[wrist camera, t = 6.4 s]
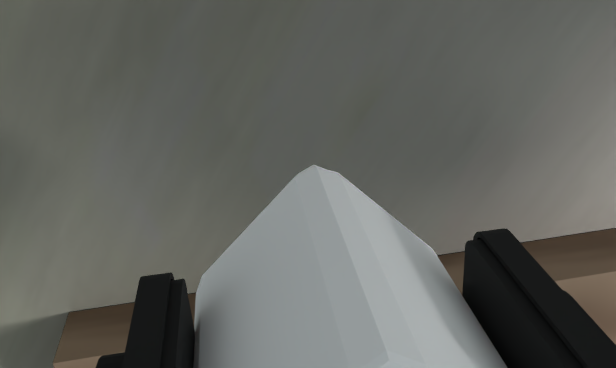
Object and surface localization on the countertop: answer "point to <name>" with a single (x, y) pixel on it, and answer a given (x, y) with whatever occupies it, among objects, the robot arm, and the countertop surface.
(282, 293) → the pepper shaker
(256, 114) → the countertop surface
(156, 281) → the robot arm
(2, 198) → the countertop surface
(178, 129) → the countertop surface
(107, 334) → the wooden frame with handle
